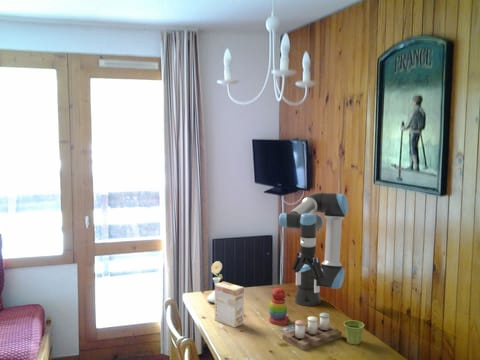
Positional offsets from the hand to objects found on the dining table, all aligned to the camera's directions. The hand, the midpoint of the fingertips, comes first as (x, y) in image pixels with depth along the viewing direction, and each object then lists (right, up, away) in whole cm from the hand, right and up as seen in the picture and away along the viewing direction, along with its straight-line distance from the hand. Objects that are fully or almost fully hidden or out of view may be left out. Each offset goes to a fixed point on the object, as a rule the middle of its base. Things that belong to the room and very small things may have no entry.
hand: (307, 288), depth 217 cm
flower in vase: (-46, -19, +45) cm, 67 cm away
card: (-6, -22, +7) cm, 24 cm away
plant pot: (+21, -23, -8) cm, 32 cm away
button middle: (+2, -20, -4) cm, 20 cm away
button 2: (+8, -19, 0) cm, 21 cm away
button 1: (-5, -20, -9) cm, 22 cm away
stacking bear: (-13, -21, +16) cm, 30 cm away
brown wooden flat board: (+2, -23, -4) cm, 23 cm away
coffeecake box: (-39, -21, +15) cm, 47 cm away
